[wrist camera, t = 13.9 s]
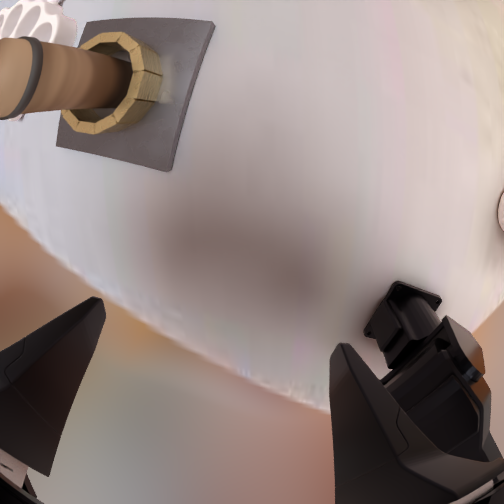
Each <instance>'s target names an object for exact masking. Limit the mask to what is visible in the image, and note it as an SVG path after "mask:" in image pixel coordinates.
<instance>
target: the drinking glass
mask: <svg viewBox="0 0 504 504" xmlns="http://www.w3.org/2000/svg"><path fill="white" fill-rule="evenodd" d="M498 219H499V224H500V226H501V228H502V230H503V231H504V193H503V195H502V197H501V200H500V203H499V208H498Z"/></svg>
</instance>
